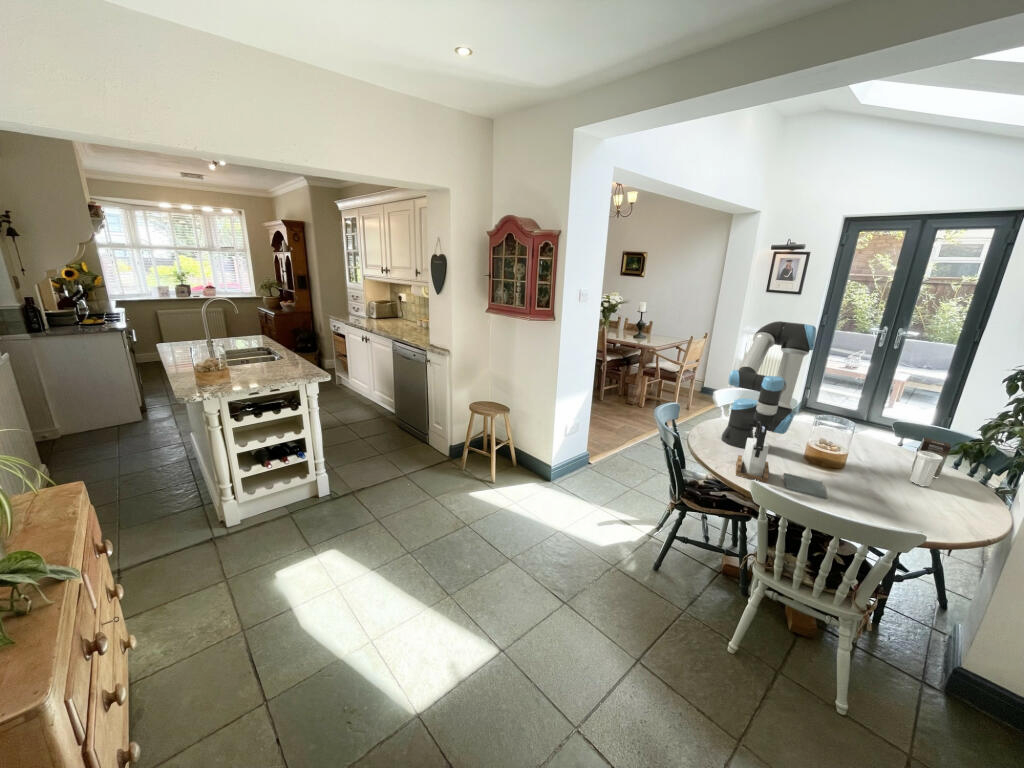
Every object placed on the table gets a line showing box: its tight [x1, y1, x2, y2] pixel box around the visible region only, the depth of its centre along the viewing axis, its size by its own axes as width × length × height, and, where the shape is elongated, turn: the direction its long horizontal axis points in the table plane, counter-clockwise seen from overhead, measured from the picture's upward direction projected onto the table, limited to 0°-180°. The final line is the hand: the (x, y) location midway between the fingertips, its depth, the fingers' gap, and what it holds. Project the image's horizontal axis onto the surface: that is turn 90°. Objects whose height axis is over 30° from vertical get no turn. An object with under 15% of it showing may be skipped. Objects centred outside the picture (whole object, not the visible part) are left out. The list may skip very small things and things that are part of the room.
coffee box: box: [911, 437, 952, 478], centre depth 190 cm, size 9×6×16 cm
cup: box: [909, 450, 943, 486], centre depth 181 cm, size 8×8×14 cm
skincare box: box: [741, 437, 770, 477], centre depth 183 cm, size 8×7×16 cm
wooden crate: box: [735, 454, 770, 484], centre depth 184 cm, size 12×12×5 cm
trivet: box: [782, 472, 828, 500], centre depth 176 cm, size 14×14×1 cm
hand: (754, 457), depth 182 cm, fingers open, 13 cm apart
